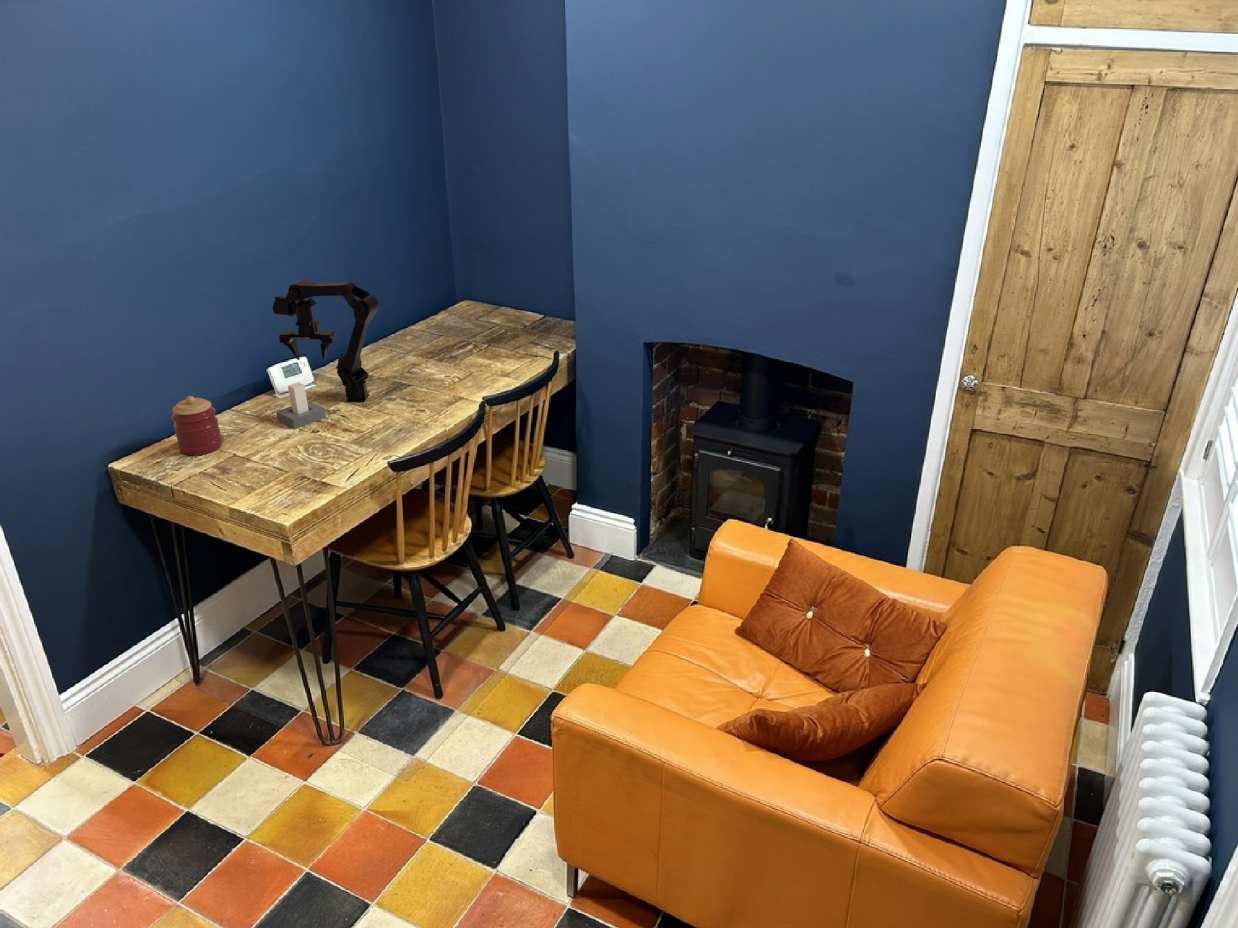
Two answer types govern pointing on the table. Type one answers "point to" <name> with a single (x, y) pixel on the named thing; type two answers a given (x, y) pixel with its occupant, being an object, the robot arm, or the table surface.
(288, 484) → the table surface
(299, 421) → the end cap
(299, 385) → the light grey peg
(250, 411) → the table surface
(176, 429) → the canister
